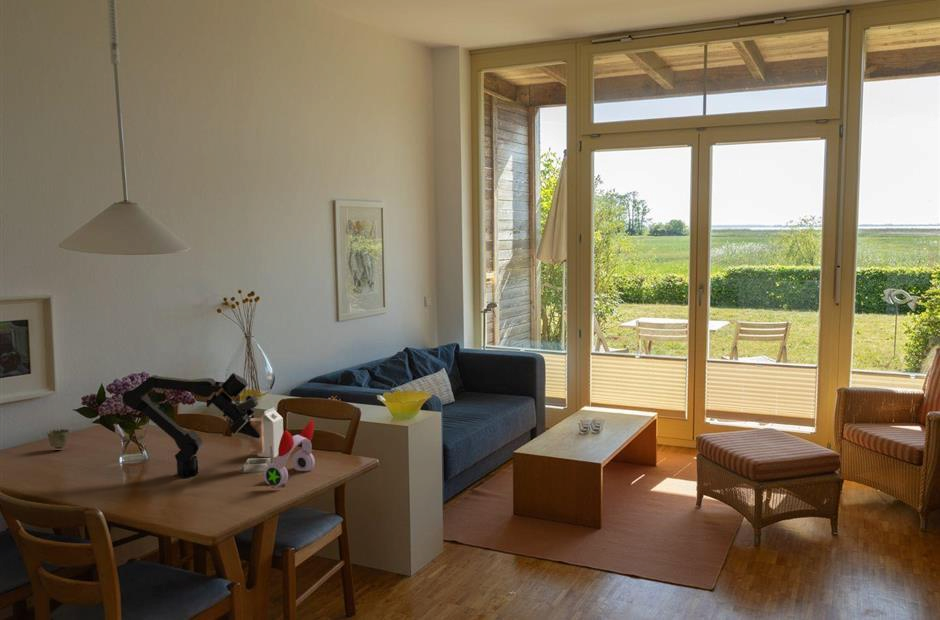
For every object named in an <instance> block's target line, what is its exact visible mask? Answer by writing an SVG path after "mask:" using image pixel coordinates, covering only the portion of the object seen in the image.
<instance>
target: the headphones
mask: <svg viewBox="0 0 940 620" xmlns="http://www.w3.org/2000/svg"><path fill="white" fill-rule="evenodd" d="M314 432H315V421H314V418H313V419H311V420H310V421H309V422H308V423H307V424H306V425H305V427H304V428H303V430H301V433H300V434H296V435H292V434H291V433H290V431H288V430H284V429H283V435H282V437H281V440H280V444H279V448H278V455H277V456H276V457H275V460H274V463H271V464H269V465H268V466H267V468H266V469H265V471H264V473H263V478H264V482H265V483H266V484H268V486H269V487H271V488H276V487H279V488H281V487H283V486H285V485H286V484H287V482H288V479H289V472H288V469H287V467H286V463H287V460H288V458H289V456H290V455H291V454H292V452H293V451H294V450H295V449H296V447H298V445H300V444H301V445H302V446H301V449H300V450H298V451H296V452H295V453H294V454H293V456H292V459H291V460H292V461H291V462H292V463H291V464H292V467H293V469H294V470H295V471H300V472H311V471H313V469H314V467H315V465H316V464H315V463H316V460H315V457H314V455H313V454H312V447H313V445H312V440H313V437H314Z"/></svg>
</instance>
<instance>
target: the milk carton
mask: <svg viewBox="0 0 940 620" xmlns="http://www.w3.org/2000/svg"><path fill="white" fill-rule="evenodd" d="M260 418H263V423H264V452H263V454H257V457H262V458H263V457H264V458H270V446H273V449H274V458H277V455H278V448H279V444H280V440H281V437H282V435H283V432H284V418H283V417H282V415H280V414H279V412H277V410H276V407H275V406H274V407H271V408H268V409H266V410H264V411H263V414H262V415H261V417H260Z"/></svg>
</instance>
